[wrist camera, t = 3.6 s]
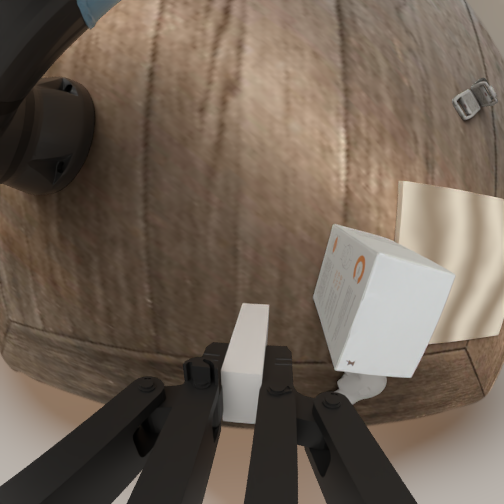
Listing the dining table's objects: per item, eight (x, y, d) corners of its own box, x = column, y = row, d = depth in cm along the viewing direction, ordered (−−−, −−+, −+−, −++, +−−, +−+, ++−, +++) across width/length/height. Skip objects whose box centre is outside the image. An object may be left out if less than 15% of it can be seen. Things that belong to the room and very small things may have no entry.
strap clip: (462, 123, 24) (483, 117, 19) (448, 100, 23) (468, 92, 19) (493, 97, 22) (513, 91, 18) (481, 76, 21) (500, 69, 17)
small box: (366, 309, 29) (411, 381, 16) (311, 297, 29) (331, 373, 17) (389, 236, 27) (458, 274, 14) (332, 221, 27) (376, 251, 15)
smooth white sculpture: (370, 347, 31) (387, 378, 31) (314, 380, 33) (333, 409, 32) (376, 358, 27) (395, 392, 26) (312, 394, 29) (333, 425, 28)
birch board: (376, 342, 30) (379, 347, 29) (398, 180, 26) (403, 180, 25) (493, 331, 28) (498, 334, 27) (518, 203, 24) (524, 204, 23)
